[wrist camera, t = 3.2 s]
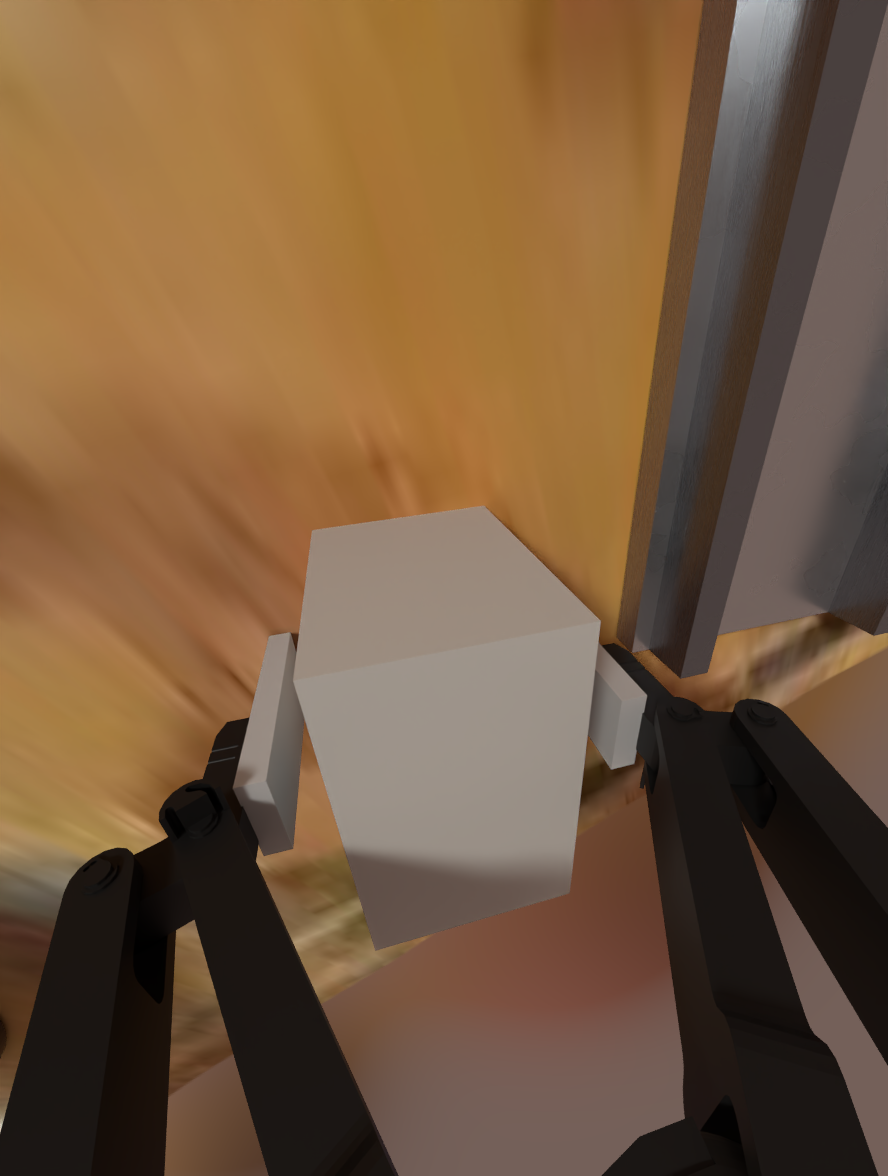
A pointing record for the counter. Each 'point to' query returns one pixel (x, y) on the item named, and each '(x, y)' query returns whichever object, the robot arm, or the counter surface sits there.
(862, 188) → the grey channel bracket
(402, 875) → the block
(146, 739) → the counter surface
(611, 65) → the counter surface
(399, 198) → the counter surface
